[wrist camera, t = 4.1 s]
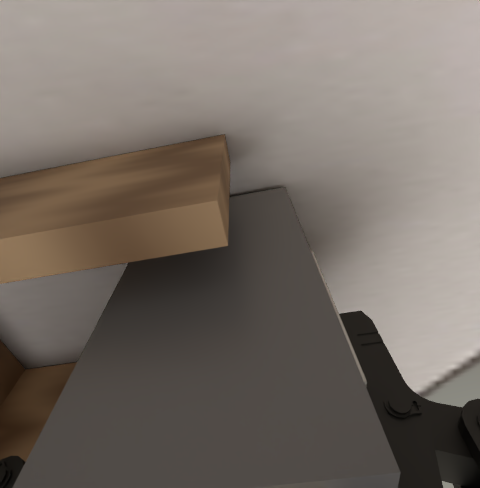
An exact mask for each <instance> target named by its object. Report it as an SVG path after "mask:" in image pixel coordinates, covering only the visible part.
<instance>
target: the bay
mask: <svg viewBox="0 0 480 488" xmlns="http://www.w3.org/2000/svg"><path fill="white" fill-rule="evenodd" d="M229 192H230V158H229V153H228V148H227V143H226V138H225V134H224V135H219V136H213V137H208V138H203V139H198V140H193V141H188V142H183V143H178V144H172V145H167V146H162V147H157V148H152V149H147V150H142V151H137V152H131V153H126V154H121V155H116V156H111V157H106V158H101V159H96V160H90V161H85V162H80V163H75V164H70V165H65V166H60V167H55V168H49V169H44V170H39V171H34V172H29V173H24V174H19V175H14V176H8V177H3V178H0V284H2V283H8V282H14V281H20V280H26V279H32V278H38V277H44V276H50V275H56V274H62V273H68V272H74V271H80V270H86V269H92V268H98V267H104V266H110V265H116V264H122V263H128V262H134V261H140V260H146V259H152V258H158V257H164V256H170V255H176V254H182V253H188V252H194V251H200V250H206V249H212V248H218V247H224V246H228V229H229ZM76 364H77V362H76V363H69V364H62V365H54V366H47V367H40V368H33V369H26V370H25V369H24V367H23V366H22V365H21V364H20V363H19V362H18V360H17V359H16V358H15V357H14V356H13V355H12V353H11V352H10V351H9V350H8V349H7V348H6V346H5V345H4V344H3V343H2V342H1V340H0V460H2V459H4V458H6V457H9V456H19V457H20V458H21V459H23V460H24V461H25V462H26V460H27V459H28V457H29V455H30V453H31V451H32V449H33V447H34V445H35V443H36V441H37V439H38V437H39V435H40V433H41V431H42V429H43V428H44V426H45V424H46V422H47V420H48V418H49V416H50V414H51V412H52V410H53V408H54V406H55V404H56V402H57V400H58V399H59V397H60V395H61V393H62V391H63V389H64V387H65V385H66V383H67V381H68V379H69V377H70V375H71V373H72V371H73V369H74V368H75V366H76Z"/></svg>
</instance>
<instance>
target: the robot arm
mask: <svg viewBox="0 0 480 488" xmlns="http://www.w3.org/2000/svg"><path fill="white" fill-rule="evenodd" d="M311 252H312V255H313V257H314V260H315V262H316V265H317V267H318V270H319V272H320V275H321V277H322V280H323V282H324V285H325V287H326V289H327V292H328V294H329V297H330V299H331V302H332V304H333V307H334V309H335V312H336V314H337V317H338V319H339V322H340V324H341V327H342V329H343V331H344V334H345V336H346V339H347V341H348V344H349V346H350V349H351V351H352V354H353V356H354V359H355V361H356V364H357V366H358V369H359V371H360V373H361V376H362V378H363V381H364V383H365V386H366V388H367V391H368V393H369V396H370V398H371V401H372V403H373V406H374V408H375V411H376V413H377V416H378V418H379V420H380V423H381V425H382V428H383V430H384V433H385V435H386V438H387V440H388V443H389V445H390V448H391V450H392V453H393V455H394V458H395V460H396V462H397V465H398V467H399V470H400V472H401V473H400V478H399V484H398V488H443V485H442V481H445V482H449V483H453V485H454V488H480V399H475V400H472V401H469V402H467V403H466V405H465V406H464V407H463V408H462V407H456V406H451V405H446V404H440V403H435V402H432V401H429V400H427V399H425V398H423V397H421V396H419V395H418V394H416V393H415V392H413V391H412V390H411V389H410V388H409V387H408V386H407V384H406V383H405V381H404V380H403V378H402V376H401V374H400V372H399V370H398V368H397V366H396V365H395V363H394V361H393V359H392V357H391V355H390V353H389V351H388V349H387V348H386V346H385V344H384V343H383V340H382V338H381V336H380V334H378V331H377V329H376V327H375V325H374V323H373V321H372V320H371V319H370V318H369V317H368V316H367V315H365V314H364V313H363V312H362V311H356V312H349V313H342V314H339V313H338V311H337V308H336V306H335V303H334V301H333V298H332V296H331V294H330V291H329V289H328V286H327V284H326V282H325V279H324V277H323V274H322V272H321V269H320V267H319V265H318V262H317V260H316V257H315V255H314V253H313V251H311ZM24 464H25V461H24V460H23V459H21V458H20V457H19V456H9V457H6V458H4V459H2V460H0V488H13V486H14V484H15V482H16V480H17V478H18V476H19V474H20V472H21V470H22V468H23V466H24Z"/></svg>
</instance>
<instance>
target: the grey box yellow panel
mask: <svg viewBox="0 0 480 488" xmlns="http://www.w3.org/2000/svg"><path fill="white" fill-rule="evenodd" d="M400 473H401V472H400V470H399V467H398V465H397V462H396V460H395V458H394V455H393V453H392V450H391V448H390V445H389V443H388V440H387V438H386V435H385V433H384V430H383V428H382V425H381V423H380V420H379V418H378V416H377V413H376V411H375V408H374V406H373V403H372V401H371V398H370V396H369V393H368V391H367V388H366V386H365V383H364V381H363V378H362V376H361V373H360V371H359V369H358V366H357V364H356V361H355V359H354V356H353V354H352V351H351V349H350V346H349V344H348V341H347V339H346V336H345V334H344V331H343V329H342V327H341V324H340V322H339V319H338V317H337V314H336V312H335V309H334V307H333V304H332V302H331V299H330V297H329V294H328V292H327V289H326V287H325V285H324V282H323V280H322V277H321V275H320V272H319V270H318V267H317V265H316V262H315V260H314V257H313V255H312V252H311V250H310V247H309V245H308V242H307V240H306V238H305V235H304V233H303V230H302V228H301V225H300V223H299V220H298V218H297V215H296V213H295V210H294V208H293V205H292V203H291V200H290V198H289V196H288V193H287V191H286V188H285V187H283V188H277V189H272V190H266V191H261V192H255V193H250V194H244V195H238V196H233V197H229V229H228V246H224V247H218V248H212V249H206V250H200V251H194V252H188V253H182V254H176V255H170V256H164V257H158V258H152V259H146V260H140V261H134V262H129V263H128V265H127V267H126V269H125V271H124V273H123V275H122V277H121V278H120V280H119V282H118V284H117V286H116V288H115V290H114V292H113V294H112V296H111V298H110V300H109V302H108V304H107V306H106V308H105V309H104V311H103V313H102V315H101V317H100V319H99V321H98V323H97V325H96V327H95V329H94V331H93V333H92V335H91V337H90V339H89V340H88V342H87V344H86V346H85V348H84V350H83V352H82V354H81V356H80V358H79V360H78V362H77V364H76V366H75V368H74V369H73V371H72V373H71V375H70V377H69V379H68V381H67V383H66V385H65V387H64V389H63V391H62V393H61V395H60V397H59V399H58V400H57V402H56V404H55V406H54V408H53V410H52V412H51V414H50V416H49V418H48V420H47V422H46V424H45V426H44V428H43V429H42V431H41V433H40V435H39V437H38V439H37V441H36V443H35V445H34V447H33V449H32V451H31V453H30V455H29V457H28V459H27V460H26V462H25V464H24V466H23V468H22V470H21V472H20V474H19V476H18V478H17V480H16V482H15V484H14V486H13V488H398V484H399V478H400Z"/></svg>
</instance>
